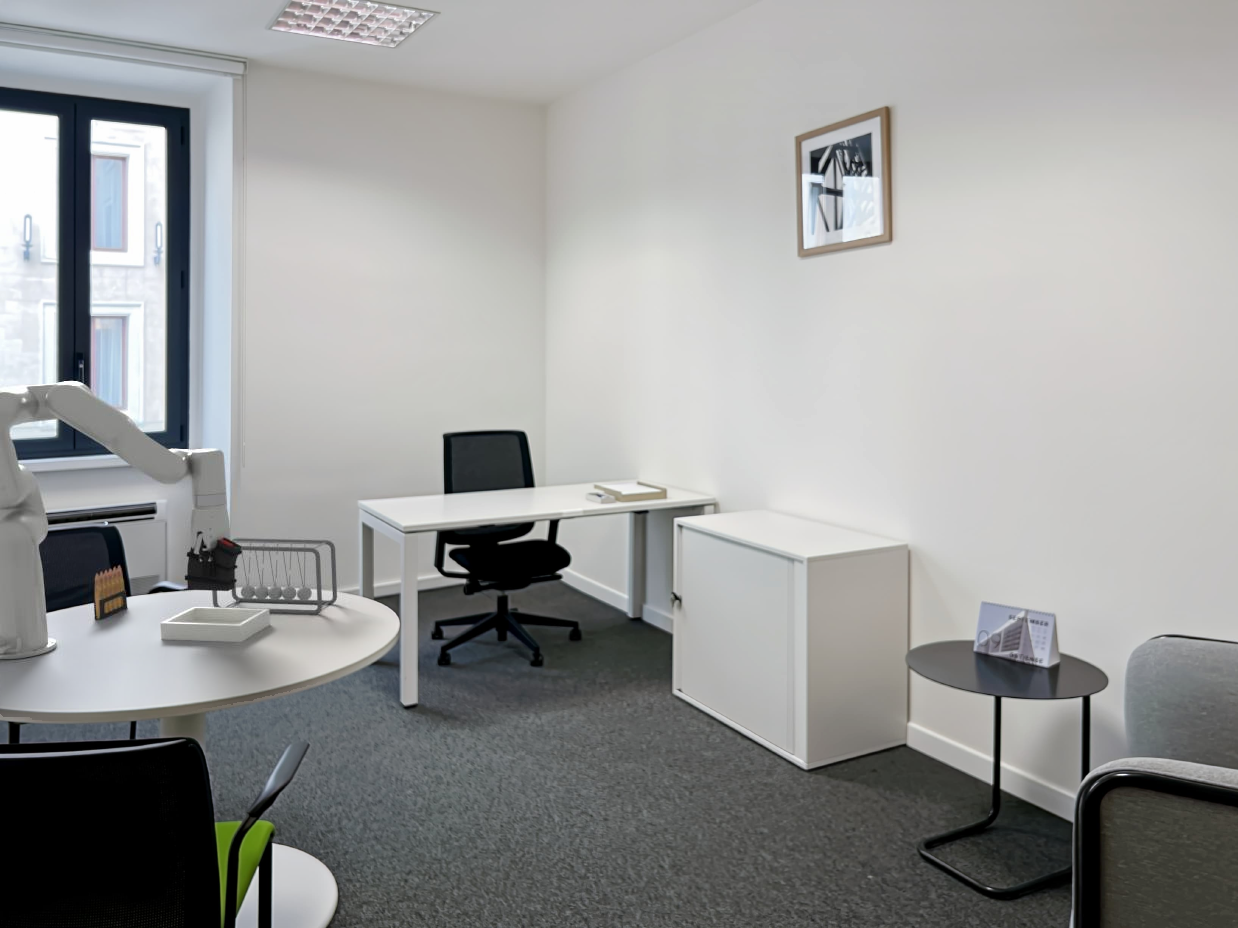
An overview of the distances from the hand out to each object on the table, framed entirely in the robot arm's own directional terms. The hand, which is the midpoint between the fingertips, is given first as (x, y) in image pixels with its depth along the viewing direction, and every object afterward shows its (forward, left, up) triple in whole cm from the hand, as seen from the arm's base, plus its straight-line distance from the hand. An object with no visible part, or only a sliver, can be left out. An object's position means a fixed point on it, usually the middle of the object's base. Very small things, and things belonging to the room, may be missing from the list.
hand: (214, 574), depth 221 cm
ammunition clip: (+11, +36, -15) cm, 41 cm away
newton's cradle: (+22, -4, -15) cm, 27 cm away
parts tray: (0, 0, -14) cm, 14 cm away
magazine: (0, 0, -4) cm, 4 cm away
